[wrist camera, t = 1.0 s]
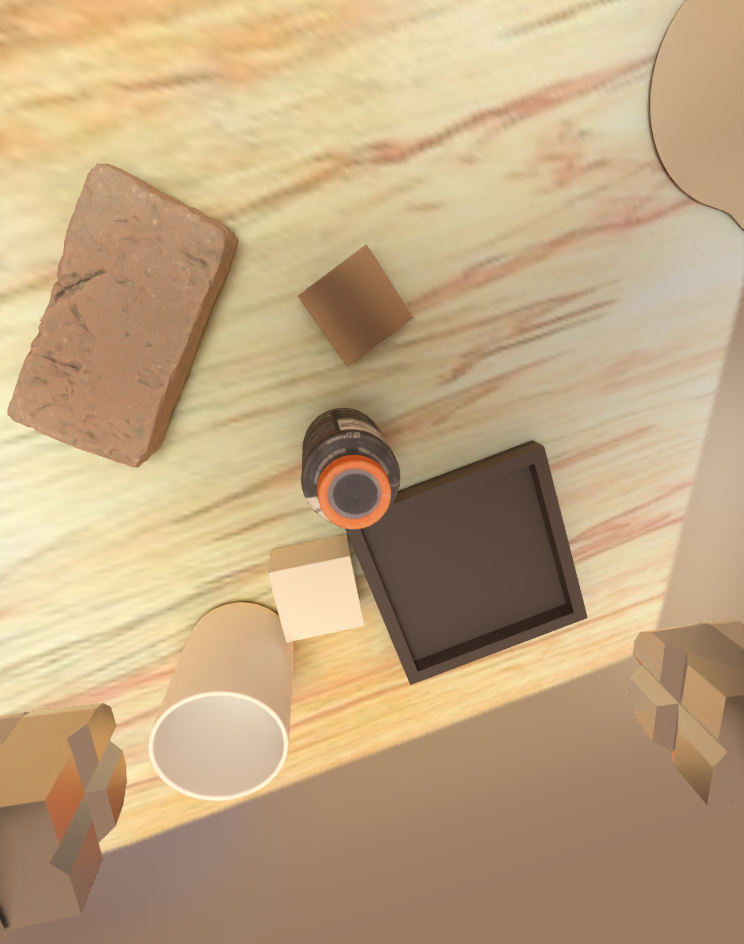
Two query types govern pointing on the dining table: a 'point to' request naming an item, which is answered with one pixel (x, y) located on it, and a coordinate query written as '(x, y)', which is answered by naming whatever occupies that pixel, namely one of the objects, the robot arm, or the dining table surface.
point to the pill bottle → (348, 469)
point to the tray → (471, 563)
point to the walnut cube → (355, 305)
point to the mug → (226, 706)
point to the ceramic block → (315, 588)
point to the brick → (122, 318)
